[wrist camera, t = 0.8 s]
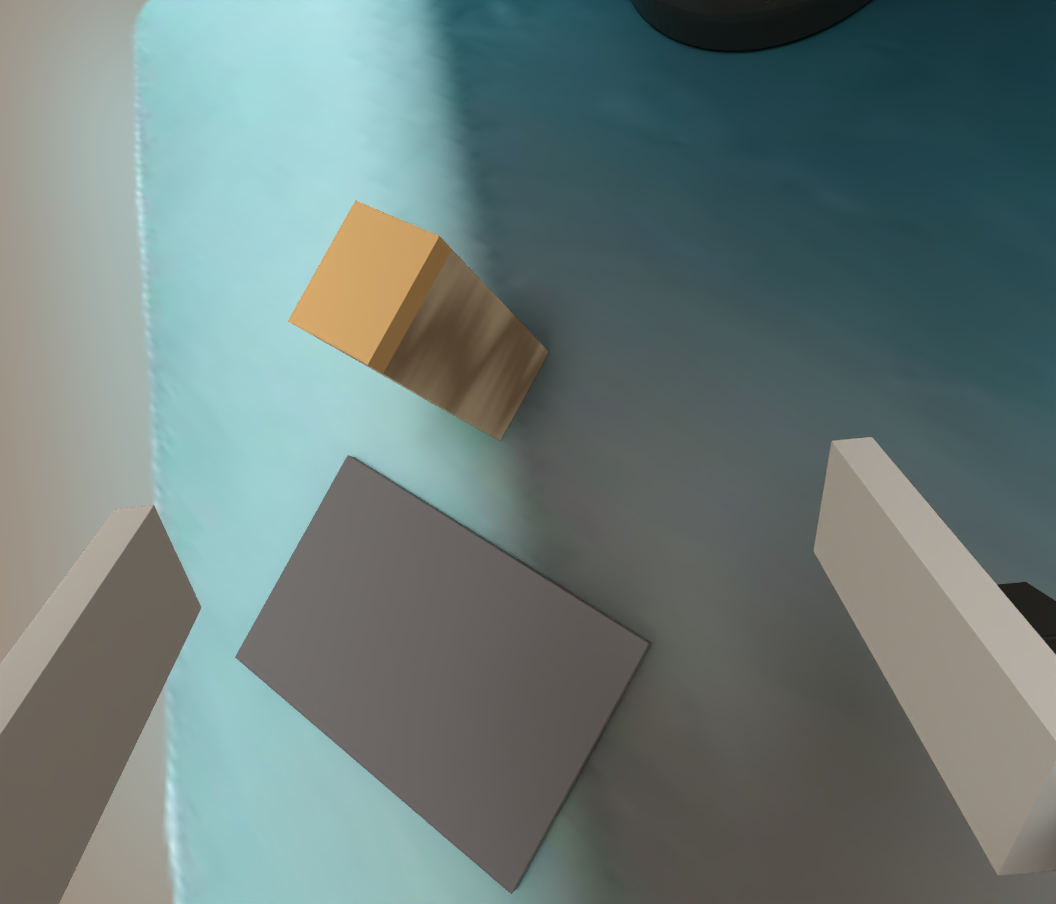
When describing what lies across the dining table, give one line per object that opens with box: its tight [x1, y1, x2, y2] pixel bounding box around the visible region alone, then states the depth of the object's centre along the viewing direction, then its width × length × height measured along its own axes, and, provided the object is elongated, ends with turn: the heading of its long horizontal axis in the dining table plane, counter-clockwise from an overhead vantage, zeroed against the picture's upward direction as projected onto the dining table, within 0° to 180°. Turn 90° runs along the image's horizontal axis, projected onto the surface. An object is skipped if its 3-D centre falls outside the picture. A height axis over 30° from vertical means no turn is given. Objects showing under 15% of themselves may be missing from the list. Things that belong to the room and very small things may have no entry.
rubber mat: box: [235, 456, 651, 894], centre depth 34 cm, size 12×18×1 cm, turn 59°
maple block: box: [288, 200, 549, 440], centre depth 31 cm, size 5×4×12 cm
